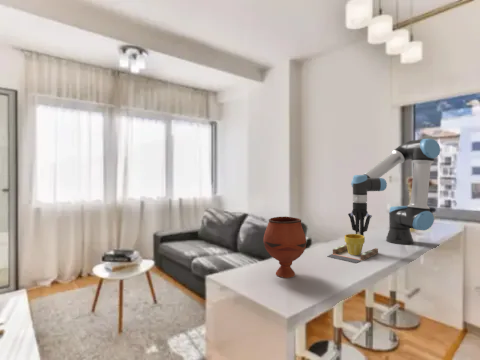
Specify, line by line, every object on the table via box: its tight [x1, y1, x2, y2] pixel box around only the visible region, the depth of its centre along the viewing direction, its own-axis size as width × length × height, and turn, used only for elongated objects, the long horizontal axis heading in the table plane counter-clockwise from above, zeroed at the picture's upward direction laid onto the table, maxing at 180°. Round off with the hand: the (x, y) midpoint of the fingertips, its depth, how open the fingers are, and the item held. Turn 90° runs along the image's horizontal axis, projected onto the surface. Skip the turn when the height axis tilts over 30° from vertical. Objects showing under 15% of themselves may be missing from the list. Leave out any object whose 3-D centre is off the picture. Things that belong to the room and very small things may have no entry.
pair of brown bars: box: [332, 244, 379, 261], centre depth 162 cm, size 19×17×3 cm
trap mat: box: [326, 253, 362, 264], centre depth 153 cm, size 6×16×1 cm, turn 43°
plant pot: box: [344, 233, 366, 256], centre depth 161 cm, size 10×10×10 cm
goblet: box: [262, 216, 307, 279], centre depth 130 cm, size 19×19×25 cm
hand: (359, 243), depth 166 cm, fingers closed
